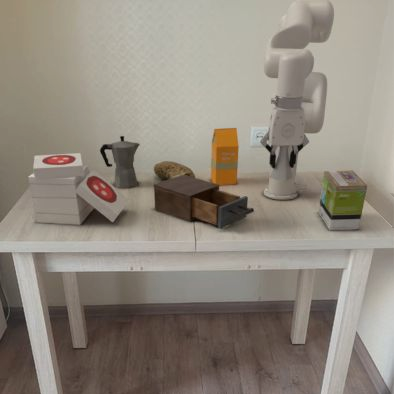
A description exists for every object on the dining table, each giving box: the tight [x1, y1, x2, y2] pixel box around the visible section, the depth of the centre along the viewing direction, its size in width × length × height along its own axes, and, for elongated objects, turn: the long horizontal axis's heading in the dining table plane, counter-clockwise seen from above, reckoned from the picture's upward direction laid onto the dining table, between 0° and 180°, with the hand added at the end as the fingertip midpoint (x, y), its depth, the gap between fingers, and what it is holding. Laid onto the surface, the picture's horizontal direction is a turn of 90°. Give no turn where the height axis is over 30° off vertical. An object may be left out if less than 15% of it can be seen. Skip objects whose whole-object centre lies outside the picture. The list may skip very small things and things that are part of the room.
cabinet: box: [153, 175, 220, 223], centre depth 169 cm, size 17×15×9 cm
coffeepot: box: [99, 135, 141, 189], centre depth 187 cm, size 15×9×18 cm, turn 111°
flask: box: [269, 146, 292, 181], centre depth 151 cm, size 7×7×10 cm
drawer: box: [192, 189, 255, 230], centre depth 160 cm, size 21×14×7 cm, turn 48°
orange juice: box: [210, 127, 240, 186], centre depth 190 cm, size 8×9×20 cm
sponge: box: [153, 160, 196, 180], centre depth 195 cm, size 13×8×20 cm
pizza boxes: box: [27, 152, 130, 226], centre depth 161 cm, size 19×30×18 cm, turn 83°
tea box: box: [317, 170, 368, 231], centre depth 159 cm, size 15×10×15 cm, turn 3°
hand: (282, 166), depth 152 cm, fingers closed on flask, 5 cm apart
